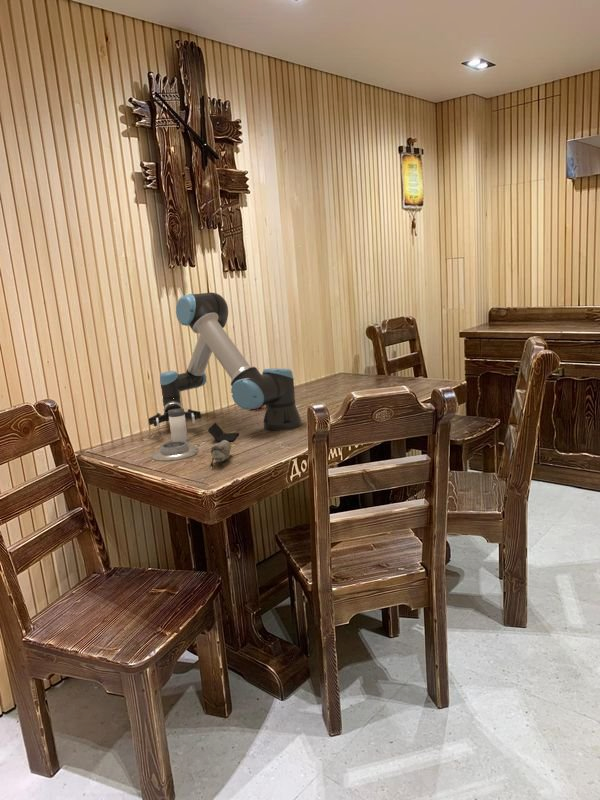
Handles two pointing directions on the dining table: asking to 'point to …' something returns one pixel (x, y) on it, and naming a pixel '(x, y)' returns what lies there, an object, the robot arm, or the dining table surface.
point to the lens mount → (174, 451)
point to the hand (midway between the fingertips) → (176, 422)
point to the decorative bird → (220, 452)
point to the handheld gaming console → (222, 434)
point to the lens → (177, 424)
